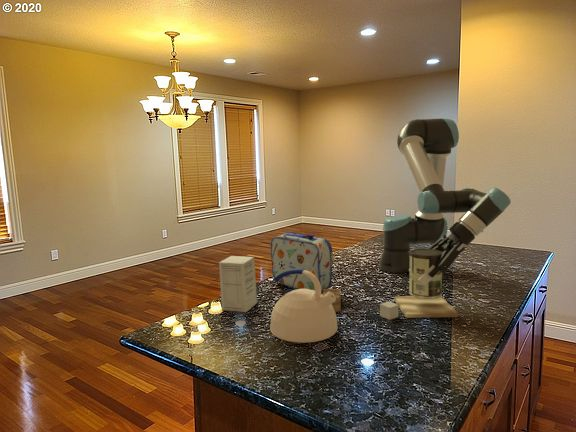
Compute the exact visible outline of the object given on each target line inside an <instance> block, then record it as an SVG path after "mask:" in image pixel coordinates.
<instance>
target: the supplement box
mask: <svg viewBox="0 0 576 432" xmlns="http://www.w3.org/2000/svg"><path fill="white" fill-rule="evenodd" d="M255 261H256V260H255V256H243V255H242V256H239V255H238V256H236V255H230V256H228V257H227V258H225V259H222V260H221V261H219V263H218V267H219V269H218V270H219V283H220V284H219V285H220V297H221V299H220V300H221V301H220V302H221V310H222V311H229V312H241V313H247V312H248V311H250V310H251V309H252V308H253V307H254V306H255V305H257V303H258V297H257V280H256V265H255V264H256V263H255Z"/></svg>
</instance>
